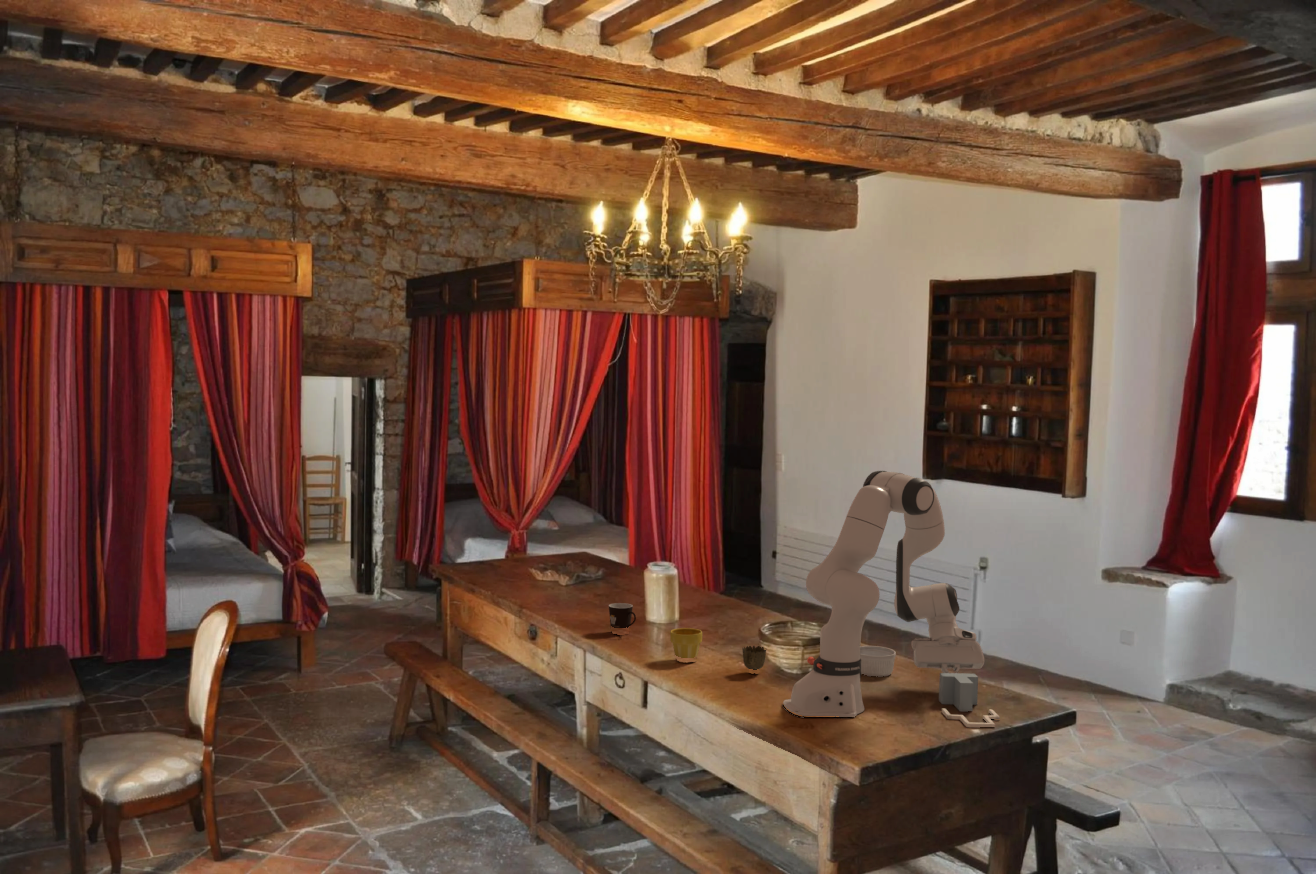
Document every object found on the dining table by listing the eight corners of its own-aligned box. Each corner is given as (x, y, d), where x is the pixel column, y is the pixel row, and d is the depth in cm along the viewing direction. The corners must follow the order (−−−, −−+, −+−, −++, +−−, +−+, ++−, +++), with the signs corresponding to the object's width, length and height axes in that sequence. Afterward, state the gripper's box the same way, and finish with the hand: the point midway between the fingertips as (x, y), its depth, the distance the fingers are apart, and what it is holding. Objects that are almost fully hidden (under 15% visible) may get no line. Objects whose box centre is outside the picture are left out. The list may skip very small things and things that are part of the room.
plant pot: (665, 658, 351) (666, 628, 350) (695, 656, 354) (696, 626, 353) (675, 666, 341) (676, 635, 340) (706, 664, 344) (706, 633, 344)
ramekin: (863, 679, 330) (864, 657, 330) (845, 668, 343) (845, 646, 342) (902, 677, 334) (903, 654, 333) (882, 666, 346) (883, 644, 346)
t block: (948, 711, 299) (948, 682, 299) (938, 700, 309) (939, 672, 309) (983, 711, 299) (985, 683, 299) (973, 701, 309) (974, 673, 309)
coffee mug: (605, 631, 387) (605, 603, 386) (628, 630, 389) (629, 602, 389) (613, 638, 375) (614, 610, 375) (637, 637, 378) (638, 609, 378)
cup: (737, 671, 336) (738, 646, 336) (759, 669, 339) (759, 644, 338) (748, 677, 329) (748, 651, 329) (769, 675, 332) (770, 650, 331)
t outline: (954, 726, 285) (954, 723, 285) (941, 711, 298) (941, 708, 298) (1007, 728, 285) (1007, 724, 285) (992, 712, 298) (992, 709, 298)
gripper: (912, 632, 320) (919, 673, 311) (981, 633, 320) (989, 674, 311) (908, 643, 325) (914, 684, 316) (976, 644, 325) (984, 685, 315)
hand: (952, 679), depth 313 cm, fingers closed
